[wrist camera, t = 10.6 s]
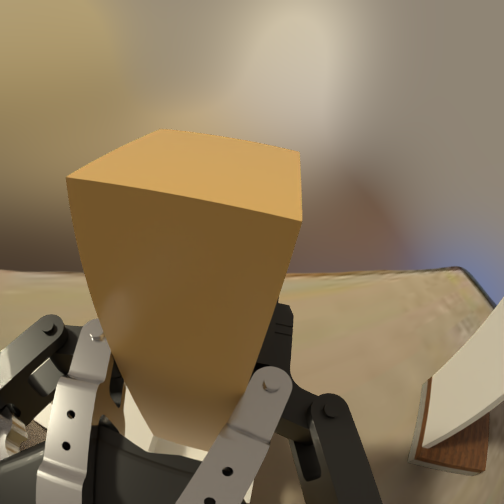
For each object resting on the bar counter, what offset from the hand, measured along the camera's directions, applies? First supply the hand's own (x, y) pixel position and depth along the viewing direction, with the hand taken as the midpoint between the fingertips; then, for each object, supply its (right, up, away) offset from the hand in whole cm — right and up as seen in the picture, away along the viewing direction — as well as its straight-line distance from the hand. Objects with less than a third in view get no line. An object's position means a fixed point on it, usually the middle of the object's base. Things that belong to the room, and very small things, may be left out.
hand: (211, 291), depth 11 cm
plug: (-2, -8, +3) cm, 9 cm away
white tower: (+24, -19, +8) cm, 32 cm away
